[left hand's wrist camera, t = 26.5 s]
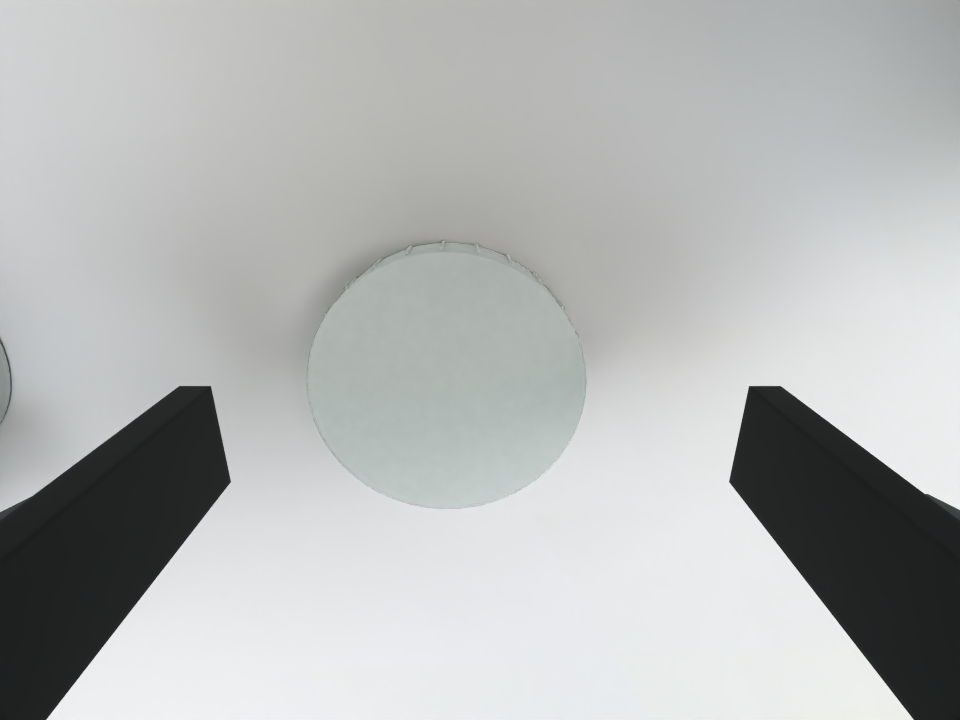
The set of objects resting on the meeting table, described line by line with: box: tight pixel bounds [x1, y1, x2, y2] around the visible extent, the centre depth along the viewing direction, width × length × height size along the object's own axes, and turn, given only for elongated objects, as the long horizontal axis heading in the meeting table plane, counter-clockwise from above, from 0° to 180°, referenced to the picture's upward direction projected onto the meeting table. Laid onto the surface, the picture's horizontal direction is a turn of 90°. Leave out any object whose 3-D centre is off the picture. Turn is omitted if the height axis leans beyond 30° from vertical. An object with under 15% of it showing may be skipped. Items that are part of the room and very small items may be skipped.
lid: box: [307, 240, 586, 509], centre depth 18 cm, size 9×9×2 cm
